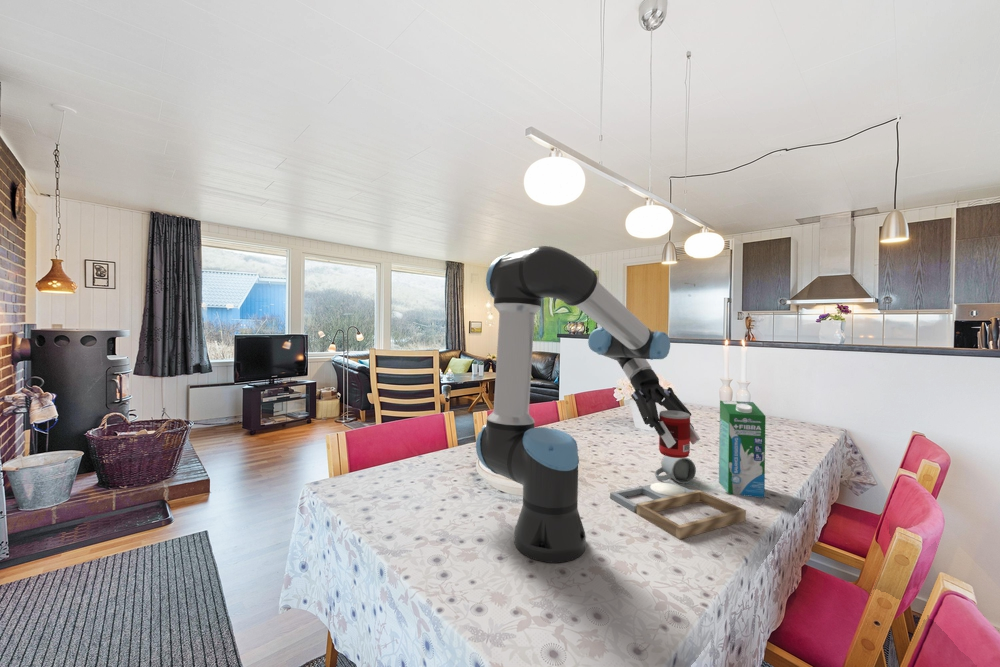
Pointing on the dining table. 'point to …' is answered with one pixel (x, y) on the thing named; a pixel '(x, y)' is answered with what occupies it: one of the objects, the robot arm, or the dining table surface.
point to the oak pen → (696, 527)
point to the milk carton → (742, 448)
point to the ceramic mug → (676, 469)
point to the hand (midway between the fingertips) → (684, 443)
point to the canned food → (676, 433)
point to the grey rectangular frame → (648, 493)
